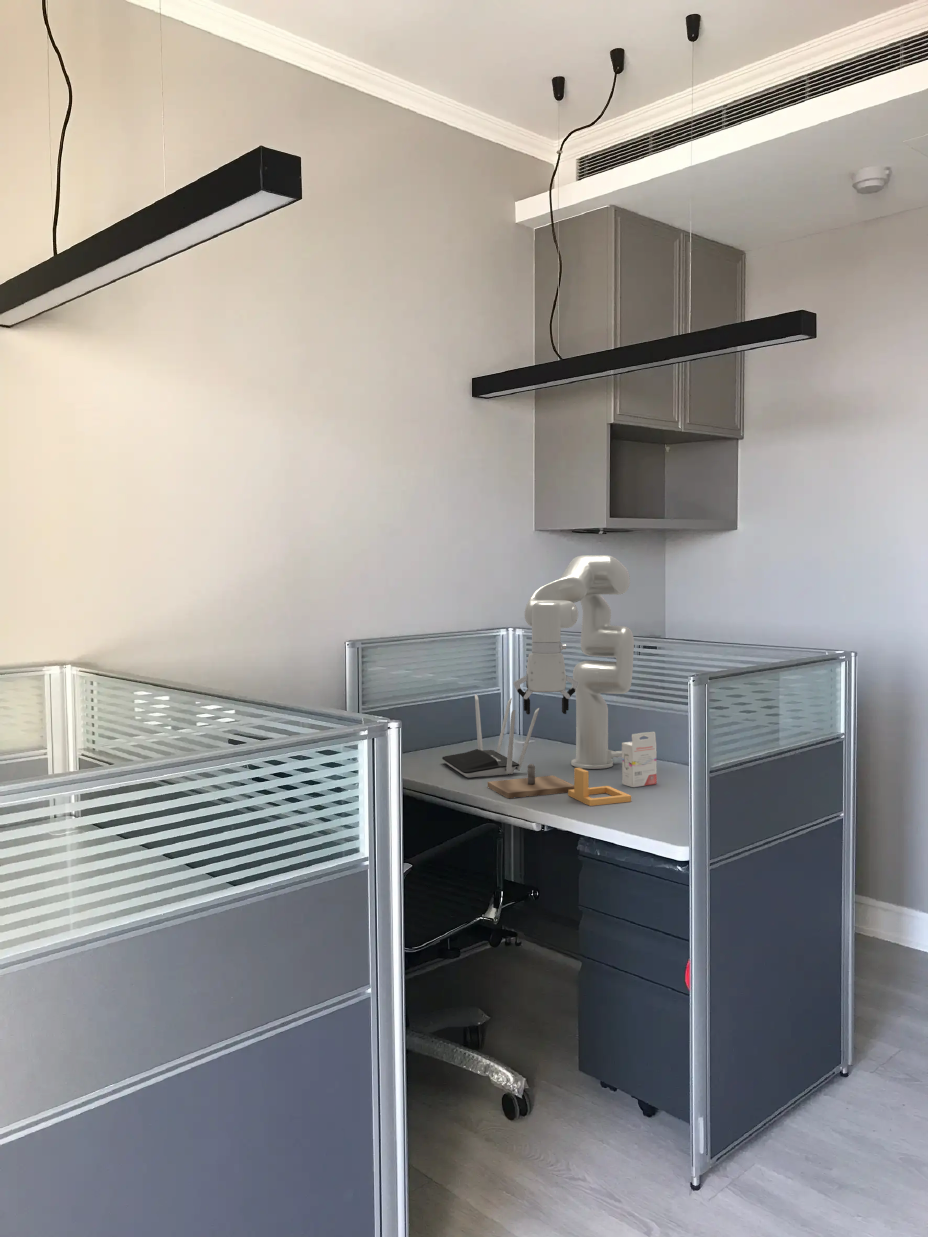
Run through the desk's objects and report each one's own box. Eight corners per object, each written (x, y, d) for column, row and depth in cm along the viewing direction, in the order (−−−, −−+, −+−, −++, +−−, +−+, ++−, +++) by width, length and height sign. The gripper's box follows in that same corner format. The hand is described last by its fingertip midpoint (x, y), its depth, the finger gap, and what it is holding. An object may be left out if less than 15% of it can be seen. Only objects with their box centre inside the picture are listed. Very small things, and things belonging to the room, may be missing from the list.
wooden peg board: (553, 780, 277) (553, 756, 277) (576, 791, 264) (576, 765, 264) (487, 787, 270) (487, 762, 270) (508, 798, 257) (507, 772, 257)
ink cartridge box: (645, 780, 277) (646, 728, 276) (657, 784, 272) (657, 731, 271) (621, 784, 273) (621, 731, 272) (632, 787, 268) (632, 734, 267)
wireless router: (436, 760, 307) (435, 696, 305) (505, 755, 314) (505, 693, 312) (470, 783, 275) (470, 712, 273) (547, 777, 282) (547, 708, 281)
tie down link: (608, 791, 264) (608, 761, 264) (631, 801, 253) (631, 770, 253) (568, 795, 260) (568, 765, 260) (589, 806, 249) (589, 774, 248)
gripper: (576, 647, 263) (575, 711, 264) (511, 647, 262) (511, 711, 263) (581, 649, 256) (581, 715, 256) (515, 650, 255) (515, 716, 255)
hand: (546, 713), depth 260 cm, fingers open, 9 cm apart
